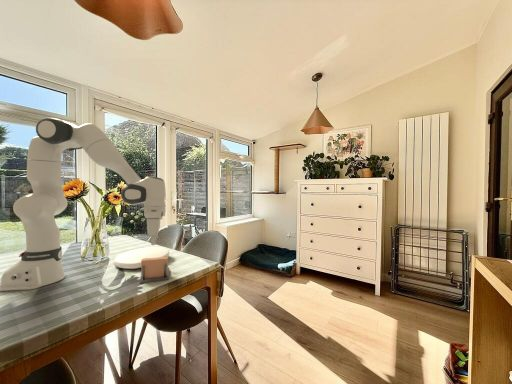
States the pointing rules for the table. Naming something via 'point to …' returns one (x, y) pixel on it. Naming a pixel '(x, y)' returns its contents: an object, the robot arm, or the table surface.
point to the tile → (154, 266)
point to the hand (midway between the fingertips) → (154, 242)
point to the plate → (139, 257)
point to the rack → (153, 279)
